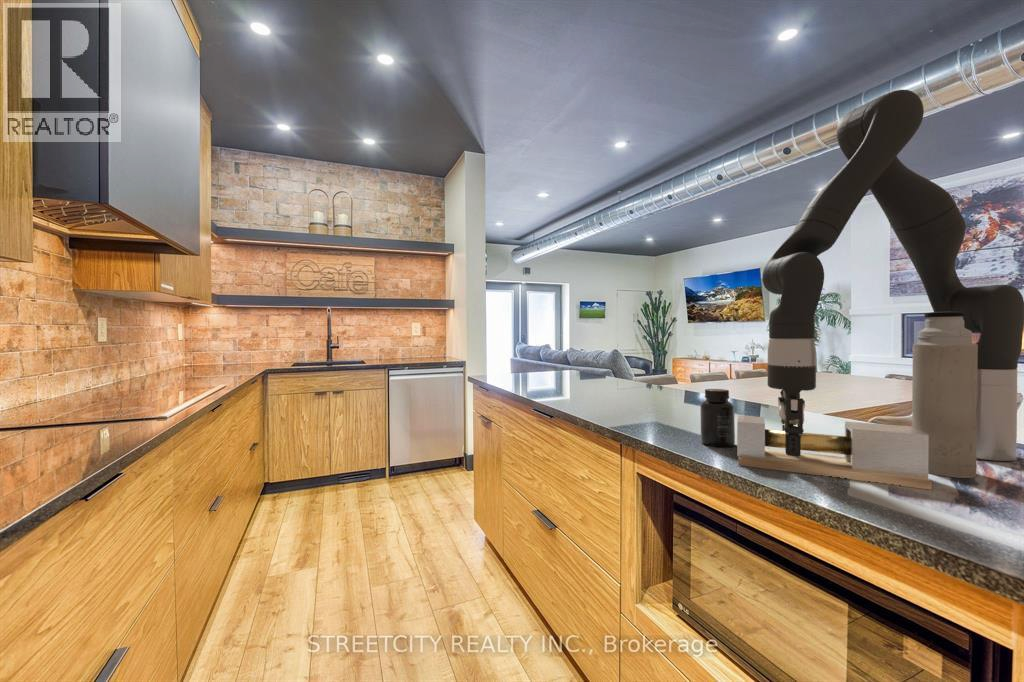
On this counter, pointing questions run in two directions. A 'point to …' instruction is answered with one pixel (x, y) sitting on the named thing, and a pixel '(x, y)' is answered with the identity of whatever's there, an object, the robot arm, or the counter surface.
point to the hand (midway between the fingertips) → (790, 449)
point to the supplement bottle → (717, 419)
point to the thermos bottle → (946, 393)
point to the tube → (812, 442)
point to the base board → (828, 468)
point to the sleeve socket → (856, 446)
